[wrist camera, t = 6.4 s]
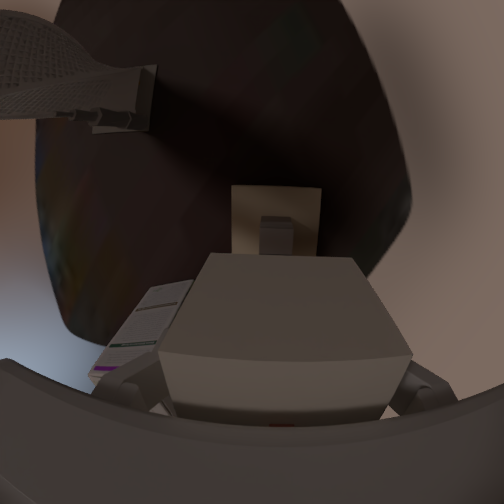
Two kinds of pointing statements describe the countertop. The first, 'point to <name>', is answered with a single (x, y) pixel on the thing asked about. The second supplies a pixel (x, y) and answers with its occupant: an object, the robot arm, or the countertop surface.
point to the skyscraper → (67, 79)
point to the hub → (275, 220)
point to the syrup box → (144, 333)
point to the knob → (282, 344)
